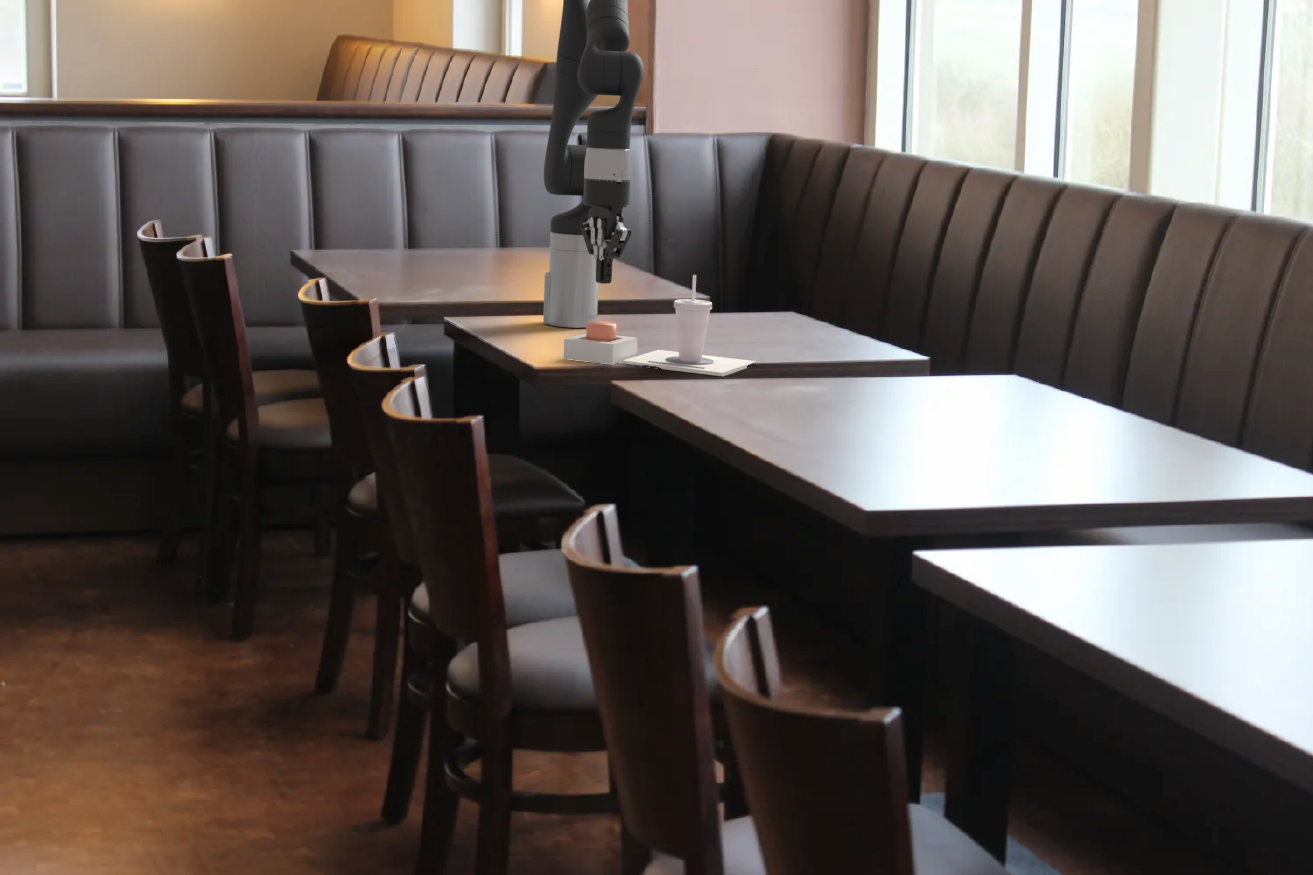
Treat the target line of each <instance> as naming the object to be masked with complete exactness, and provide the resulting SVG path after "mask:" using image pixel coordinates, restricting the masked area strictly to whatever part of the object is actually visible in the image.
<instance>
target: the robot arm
mask: <svg viewBox="0 0 1313 875" xmlns="http://www.w3.org/2000/svg"><path fill="white" fill-rule="evenodd" d="M562 2H563V4H562V13H561V20H560V28H559V34H558V35H559V37H558V44H557V52H556V62H555V73H554V74H555V76H554V91H553V104H552V114H551V120H550V126H549V132H548V138H547V146H546V150H545V157H544V163H543V164H544V166H543V182H544V184H543V185H544V187H545V188H544V189H545V190H546V191H547V192H548V194H550V195H555V196H573V197H576V196H580V197H581V196H582V200H581V202H580V203H579V204H578V205H576V206H575V207H573V208H571V209H569V210H566V211H564V212H561V213H558V214H555V215H553V216H552V217H551V220H550V235H549V236H550V237H549V238H550V239H549V269H548V270H549V271H547V272H545V274H544V282H543V283H544V287H543V288H544V289H543V290H544V291H543V321H542V322H543V324H545V325H546V324H547V325H550V326H554V327H561V328H577V329H578V328H586V326H587V322H590V321H598V305H599V304H598V303H599V302H598V301H599V300H598V299H599V284H601V285H603V284H606V285H607V284H611V283H612V281H613V280H612V277H613V261H615V259H617V258H618V259H620V258H621V256H622V255H623V252H624V251H625V249H626V246H627V245H628V242H629V240H630V238H631V236H632V229H630V228H626V227H625V225H624V221H625V220H624V219H625V218H624V214H623V212H624V211H623V209H624V208H626V207H628V206H629V205H630V200H631V196H630V195H631V194H630V193H631V170H632V169H631V168H632V162H631V161H632V160H631V150H630V149H631V131H632V129H631V128H632V118H633V113H634V109H635V105H636V102H637V98H638V95H639V94H640V93H639V92H640V89H641V87H642V83H643V79H644V76H645V75H644V74H645V67H644V63H643V60H642V58H641V57H640V55H638V54H637V53H636V52H633V51H627V50H628V49H629V47H630V41H631V36H630V33H631V32H630V23H629V20H630V19H629V0H563V1H562ZM598 96H614V97H615V96H618V97H620V98H619V101H618V103H617V104H616V105H615V106H614V107H610V108H607V109H600V110H595V111H592V112H590V113H589V114H588V117H587V123H586V124H587V125H586V128H587V130H586V145H585V144H568V143H569V140H570V137H571V134H572V132H573V129H574V128H575V126H576V124H577V123H578V121H579V119H580V118H581V116H582V115H583V114H584V113H585V112H586V110H587V109H588V108H589V107H590V106H591V104H592V103H593V102H594V101H595V99H596V98H597V97H598Z"/></svg>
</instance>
